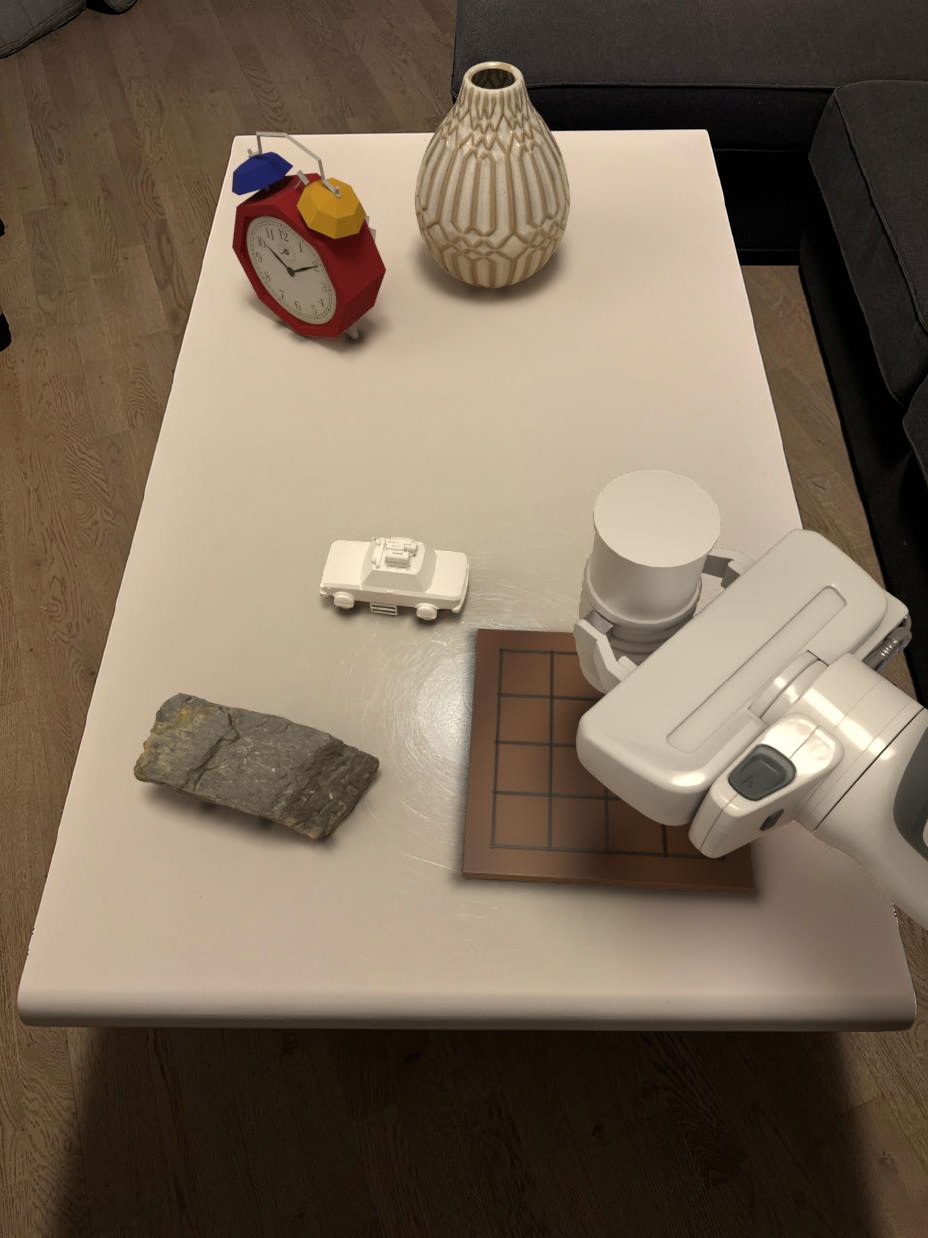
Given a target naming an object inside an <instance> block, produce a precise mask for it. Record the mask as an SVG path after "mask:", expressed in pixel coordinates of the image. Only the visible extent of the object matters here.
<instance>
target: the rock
mask: <svg viewBox="0 0 928 1238" xmlns="http://www.w3.org/2000/svg"><path fill="white" fill-rule="evenodd" d="M149 733H150V734H149V736H148V737H147V738H146V740H144V741H143V743H142V747H143V750H144V751H143V752H141V753H140V754H139V757H138V758H137V760H136V761H135V765H134V766H133V776H134V777H135V779H136V780H137V781H138V782H142V783H146V784H147V783H148V784H155V785H159V786H165V787H168V788H170V789H172V790H173V791H175V792H177V793H178V794H180V795H183V796H186V797H188V798H191V799H195V800H198V801H200V802H203V803H210V804H211V805H215V806H221V807H225V808H228V809H231V810H233V811H236V812H240V813H245V814H248V815H254V816H259V817H261V818H264V819H267V820H270V821H272V822H276V823H279V824H282V825H283V826H285V827H288V828H290V829H292V830H294V831H295V832H297V833H299V834H302V835H305V836H307V837H310V838H311V839H317V838H319V837H323V836H328V835H329V834H330V833H331V832H332V831H333V830H334V829H335V828H336V827H337V826H338V824H339V823H340V822H341V821H342V820H343V819H344V818H345V817H346V816H347V814H348V813H349V812H350V811H351V810H352V809H353V808H354V807H355V805H356V803H357V801H358V799H359V797H360V796H361V794H362V793H363V791H364V790H365V789H366V787H368V786H369V785H370V783H371V781H372V780H373V779H374V777H375V776H376V774H377V771H378V769H379V767H380V760H379V758H378V757H376V756H374V755H372V754H370V753H368V752H366V751H362V750H360V749H359V748H357V747H355V746H353V745H349V744H346V743H344V741H343V740H341V739H339V738H336V737H335V736H333V735H331V734H330V733H329V732H325V731H322V730H321V729H318V728H315V727H311V726H308V725H305V724H302V723H301V724H300V723H296V722H294V721H292V720H290V719H289V718H286V717H283V716H281V715H275V714H269V713H263V712H258V711H254V710H248V709H246V708H241V707H235V706H228V705H224V704H218V703H215V702H210V701H208V700H206V699H205V698H200V697H198V696H196V695H192V694H187V693H183V692H179V693H177V694H175V695H173V696H172V697H169V698H168V699H166V700H165V701H164V702H163V703H162V704H161V706H159V709H158V710H157V711H156V713H155V719H154V722H153V724H152V728H151V729H150V732H149Z"/></svg>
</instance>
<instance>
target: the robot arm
mask: <svg viewBox="0 0 928 1238" xmlns="http://www.w3.org/2000/svg"><path fill="white" fill-rule="evenodd" d="M701 574H705V575H709V576H713V577H716V578H719V579H721V581H720V587H722V588H723V590H722V591H721V592H720V593H719V594H718V595H717V596H715V597H714V598H712V600H711V601H710V602H709V603H707V604H706V605H705V606H704V607H703V608H702V609H701V610H700V611H698V613H696V614H694V615H693V618H692V619H691V620H690V621H688V622H687V623H686V624H685V625H684V626H683V627H682V628H681V629H679V630H678V631H677V632H676V633H675V634H674V635H673V636H672V637H670V638H669V639H668V640H667V641H666V642H665V643H664V644H663V645H662V646H660V647H659V648H658V649H657V650H656V651H655V652H654V653H653V654H651V655H650V656H649V657H648V658H647V659H646V660H645V661H644V662H642V663H641V664H640V665H639V666H637V665H636V664H635V663H633V662H632V661H631V660H630V659H628V658H627V657H626V656H622V657H621V658H620V659H619V660H618V662H617V661H616V659H615V656H614V654H613V651H612V649H611V646H610V644H609V643H610V642H611V639H612V635H611V634H612V633H613V630H614V625H613V624H612V623H611V622H610V621H608V620H607V619H606V618H601V615H600V613H599V612H597V611H596V610H591V611H590V612H589V613H587V614H586V615H585V616H584V617H583V618H581V619H580V620H578V621H576V622H575V623H574V624H573V631H572V633H573V636H574V638H575V639H576V641H577V642H579V643H580V644H581V645H582V646H583V647H584V648H585V649H587V650H588V651H589V652H590V653H591V654H592V655H594V656H593V659H594V662H595V665H596V668H597V671H598V674H599V677H600V680H601V683H602V686H603V688H604V689H605V690H607V691H608V692H609V693H608V694H606V695H605V696H604V697H603V698H602V699H601V700H600V701H599V702H597V703H596V704H595V705H594V706H593V707H592V708H591V709H590V710H588V711H587V712H586V713H585V714H584V715H583V716H582V718H581V719H580V722H579V726H578V730H577V736H576V749H577V754H578V758H579V761H580V762H581V764H582V765H583V766H584V767H585V768H586V769H587V770H588V771H589V772H590V773H591V774H592V775H593V776H594V777H595V778H596V779H598V780H599V781H600V782H601V783H602V784H603V785H605V786H606V787H607V788H608V789H610V790H611V791H612V792H613V793H615V794H616V795H617V796H618V797H620V798H621V799H622V800H624V801H625V802H626V803H628V804H629V805H631V806H632V807H633V808H635V809H636V810H638V811H639V812H641V813H642V814H644V815H645V816H647V817H648V818H650V819H652V820H654V821H656V822H659V823H661V824H665V825H670V826H679V825H684V824H687V823H689V822H691V821H693V822H692V824H691V827H690V830H689V839H690V841H691V842H692V844H693V845H694V846H695V847H696V848H697V849H698V850H699V851H700V852H701V853H703V854H704V855H706V856H707V857H710V858H717V857H721V856H723V855H725V854H727V853H729V852H731V851H733V850H735V849H737V848H739V847H741V846H743V845H745V844H747V843H749V842H750V843H751V842H753V841H755V840H757V839H759V838H761V837H764V836H765V835H768V834H769V833H772V832H773V831H775V830H778V829H780V828H782V827H784V826H786V825H789V824H790V823H792V822H794V821H795V822H796V823H798V824H799V825H800V826H801V827H802V828H803V829H805V830H806V831H807V832H808V833H810V834H812V836H813V837H814V838H816V839H817V840H818V841H820V842H821V843H824V844H826V845H829V846H831V847H832V848H834V849H836V850H839V851H840V852H842V853H843V854H845V855H846V856H847V857H849V858H851V859H852V860H853V861H855V863H857V864H858V865H859V866H860V867H861V869H863V870H864V872H865V873H867V875H868V877H870V879H871V880H872V882H873V883H874V885H875V886H876V888H877V890H879V892H880V893H881V894H882V895H883V896H884V897H885V898H887V899H888V900H889V901H890V902H892V903H893V904H894V905H895V906H896V907H897V908H898V909H900V910H901V911H902V912H903V913H904V914H906V915H907V916H908V917H909V918H910V919H912V920H913V921H914V922H915V923H917V924H918V925H919V926H920V927H921V928H922V929H924V930H925V931H927V932H928V709H927V708H926V707H924V706H923V705H921V703H919V702H918V701H916V700H915V699H913V698H912V697H911V696H909V695H908V694H907V693H905V691H902V690H901V689H900V688H898V686H896V685H895V684H894V683H891V682H890V681H889V680H887V679H886V678H885V677H884V676H882V675H881V673H882V672H883V671H884V670H885V669H886V668H887V667H888V665H889V663H890V662H891V661H892V659H893V658H894V657H895V656H896V655H897V654H899V653H901V652H902V651H904V649H906V647H907V646H908V645H909V643H910V642H911V640H912V637H913V634H912V631H911V628H912V618H911V616H910V614H909V609H908V607H907V606H906V604H904V603H903V602H902V601H901V600H899V599H898V598H897V597H895V596H893V595H892V594H891V593H890V592H888V591H886V590H885V589H884V588H882V587H881V586H880V585H879V584H878V582H877V581H876V580H875V579H874V578H873V577H872V576H871V575H870V574H869V573H868V572H866V571H865V570H864V569H863V568H862V567H861V566H860V565H859V563H857V562H856V561H854V560H853V559H852V558H851V557H850V556H849V555H848V554H847V553H845V552H844V551H843V550H842V549H840V548H839V547H838V546H837V545H835V544H834V542H831V541H830V540H829V539H827V538H826V537H824V535H822V534H820V533H819V532H817V531H815V530H809V529H802V528H793V529H791V530H790V531H788V532H787V533H786V534H785V535H784V536H783V537H781V539H779V540H778V541H777V542H776V543H775V544H774V545H773V546H772V547H770V548H769V549H768V550H767V551H765V553H763V555H762V556H760V557H759V558H758V559H757V560H756V561H754V560H753V559H752V558H750V557H749V556H747V555H746V554H745V553H743V552H742V551H739V550H734V549H728V548H721V547H715V546H714V547H713V549H712V550H711V552H710V553H709V554H708V555H707V558H706V561H705V564H704V567H703V570H702V573H701ZM902 622H903V623H902ZM901 623H902V624H903V626H900V624H901Z"/></svg>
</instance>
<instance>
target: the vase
mask: <svg viewBox="0 0 928 1238" xmlns="http://www.w3.org/2000/svg"><path fill="white" fill-rule="evenodd" d="M525 82H526V81H525V79H524V76H523V73H522V72H521V70H520V69H518V68H517V67H516V66H514V65H512V64H510V63H507V62H502V61H486V62H485V61H484V62H480V63H477V64H476V65H473V66H471V67H470V68H469V69H468V70H466V72H465V73H464V75H463V78H462V81H461V85H460V88H459V92H458V95H457V98H456V100H455V103H454V104H453V106H452V108H451V109H450V110H449V111H448V113H447V114H446V115H445V117H444V118H443V120H441V122H440V123H439V125H438V127H437V129H436V130H435V132H434V133H433V135H432V137H431V138H430V140H429V143H428V145H427V147H426V148H425V152H424V154H423V156H422V160H421V163H420V166H419V170H418V174H417V177H416V178H417V179H416V184H415V192H414V210H415V211H414V212H415V217H416V222H417V226H418V230H419V233H420V236H421V238H422V241H423V243H424V245H425V247H426V249H427V251H428V252H429V254H430V256H431V257H432V258H433V260H434V261H435V262H436V263H437V264H438V266H439V267H440V268H441V269H442V270H443V271H445V272H446V273H447V274H449V275H450V276H451V277H453V278H455V279H456V280H458V281H461V282H463V283H465V284H467V285H470V286H473V287H478V288H482V289H499V288H506V287H509V286H512V285H516V284H518V283H521V282H523V281H526V280H527V279H529V278H530V277H532V276H534V274H536V273H537V272H538V271H540V270H542V268H544V267H545V265H546V264H547V263H548V261H549V260H551V258H552V256H553V255H554V254H555V252H556V250H557V249H558V247H559V245H560V243H561V241H562V239H563V237H564V234H565V231H566V229H567V228H566V227H567V225H568V219H569V216H570V208H571V189H570V181H569V176H568V171H567V167H566V163H565V160H564V157H563V154H562V151H561V148H560V146H559V144H558V142H557V140H556V138H555V136H554V135H553V133H552V131H551V130H550V128H549V126H548V125H547V123H546V121H545V120H544V118H543V117H542V116H541V114H540V113H539V112H538V110H537V109H536V107H534V105H533V103H532V102H531V99H530V96H529V93H528V89H527V86H526V83H525Z"/></svg>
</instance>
